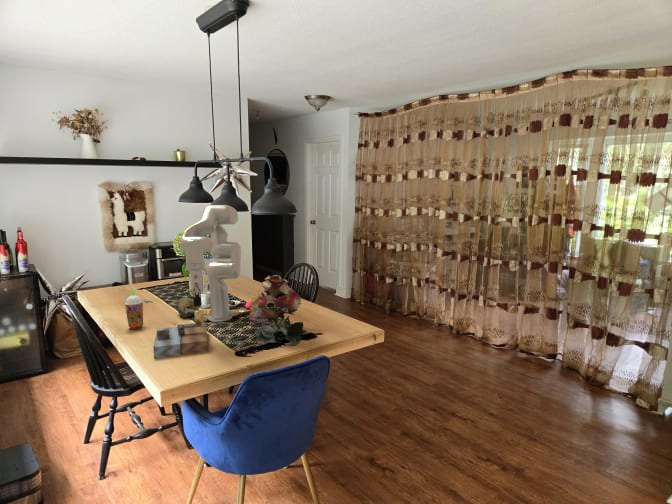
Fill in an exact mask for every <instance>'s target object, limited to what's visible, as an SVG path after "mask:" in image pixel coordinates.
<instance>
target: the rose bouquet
mask: <svg viewBox="0 0 672 504" xmlns="http://www.w3.org/2000/svg"><path fill="white" fill-rule="evenodd" d="M264 280H265V281H262V282H261V285H262V288H263V290H261V293H259V294H258V295H256V296H254V298H252V300H251V301H250V306H252V307H251V308H250V312H249V316H248V319H249V320H250V321H254V322H259V323H261V326H260V327H259V328H258V329H256V330H255V331H254V334H255V336H256V339H255V342H258V343H260V344H261V345H266V344H268V343H275V344H282V341H279V340H278V339H280V336H284V338H285V340H287V341H289V342H285V343H284V345H288V346H295V347H296V346H297V345H300V343H301V341H302V340H303V339H302V337H303V336H302V334H303V333H304V326H305V325H304V321H298V322H297V321H296V322H293V323H292V322H291V320H290V315H291V316H292V315H293V316H296V315H297V313H296V312H297V311H298V312H299V307H300V306H301V305H302V303H301V302H302V298H301V296H300V295H299V294H298V293H297V292H295V291H294V290H293V288H291V287H290V286H289V285H287V283H288V282H289V281H288V280H287V279H284V278H282V277H281V276H280V275H278V274H272V275H268V276H266V277H265V278H264ZM285 314H288V316H287V317H285ZM280 319H281V322H280ZM269 325H270V326H269Z"/></svg>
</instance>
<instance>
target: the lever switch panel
mask: <svg viewBox="0 0 672 504" xmlns="http://www.w3.org/2000/svg"><path fill="white" fill-rule="evenodd" d="M207 332H208V330H207V323H203V324H202V327H194V328H185V329H177V326H173V327H170V326H169V327H163V328H157V330H156V333H155V339H154V341H153V346H152V347H153V358H154V359H160V358H161V359H162V358H168V357H175V356H182V355H189V354H190V355H191V354H197V353H205V352H209V341H208V339H209V338H208V333H207Z"/></svg>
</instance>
